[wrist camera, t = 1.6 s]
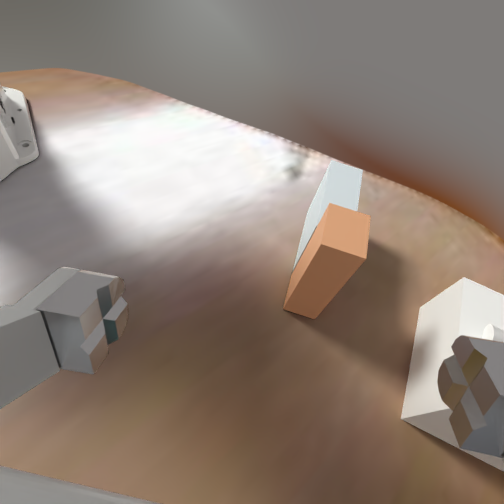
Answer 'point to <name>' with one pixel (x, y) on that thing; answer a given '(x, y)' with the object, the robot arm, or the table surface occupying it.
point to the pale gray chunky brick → (331, 198)
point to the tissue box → (448, 353)
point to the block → (328, 260)
